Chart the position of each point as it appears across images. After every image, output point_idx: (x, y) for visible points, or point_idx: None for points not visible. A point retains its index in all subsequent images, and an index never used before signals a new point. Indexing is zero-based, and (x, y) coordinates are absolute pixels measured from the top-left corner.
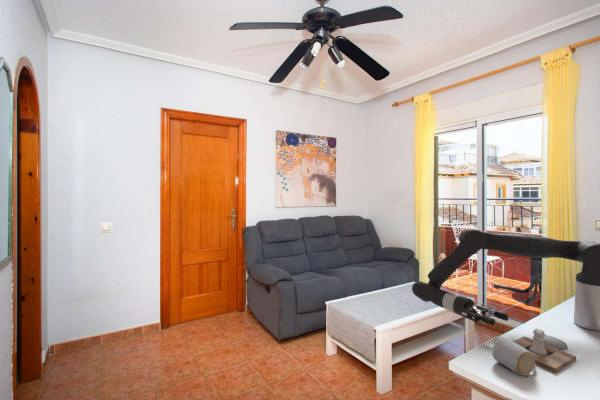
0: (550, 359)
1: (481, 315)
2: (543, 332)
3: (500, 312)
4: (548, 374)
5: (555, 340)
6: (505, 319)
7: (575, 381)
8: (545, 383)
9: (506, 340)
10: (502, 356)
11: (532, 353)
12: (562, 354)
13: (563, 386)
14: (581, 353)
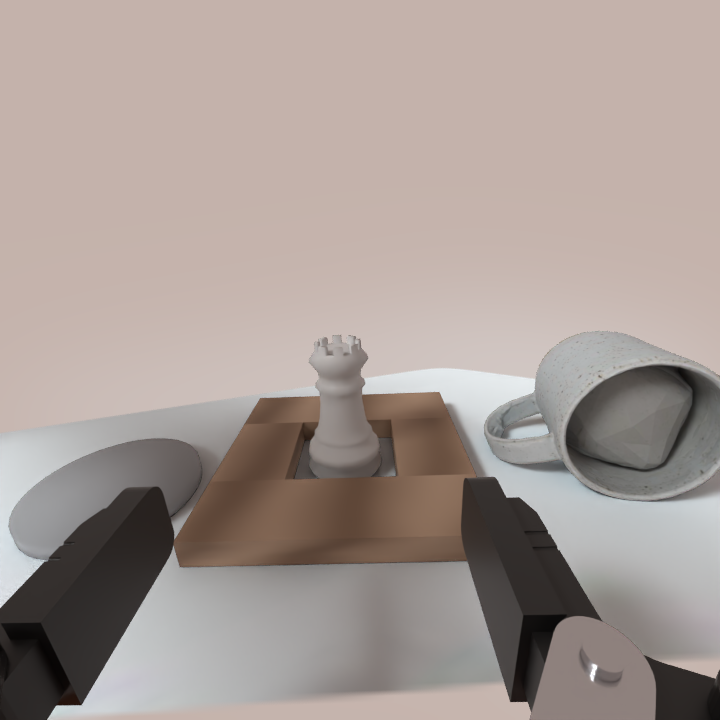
0: (384, 411)
1: (612, 631)
2: (340, 337)
3: (72, 562)
4: (473, 411)
5: (92, 472)
6: (161, 549)
7: (424, 385)
8: None
9: (657, 349)
10: (694, 408)
11: (406, 444)
12: (289, 411)
13: (491, 386)
14: (168, 423)
